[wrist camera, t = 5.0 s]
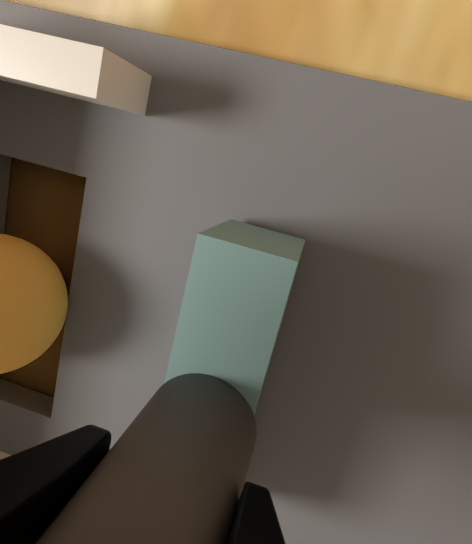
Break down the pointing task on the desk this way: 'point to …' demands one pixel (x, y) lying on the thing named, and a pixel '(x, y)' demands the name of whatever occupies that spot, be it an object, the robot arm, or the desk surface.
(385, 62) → the desk surface
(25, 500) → the robot arm
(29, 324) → the ball
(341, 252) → the board
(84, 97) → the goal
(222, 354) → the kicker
